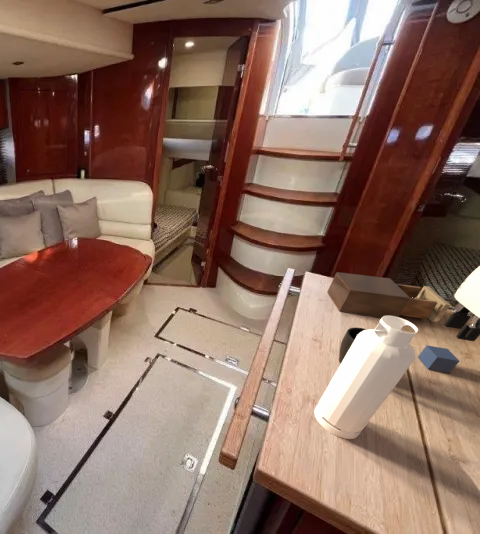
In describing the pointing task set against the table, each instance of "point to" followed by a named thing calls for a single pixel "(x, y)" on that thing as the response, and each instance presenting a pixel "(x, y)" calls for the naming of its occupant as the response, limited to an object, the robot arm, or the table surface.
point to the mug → (348, 341)
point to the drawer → (424, 303)
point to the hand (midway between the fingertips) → (458, 332)
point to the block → (438, 359)
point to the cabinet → (367, 295)
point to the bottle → (366, 377)
